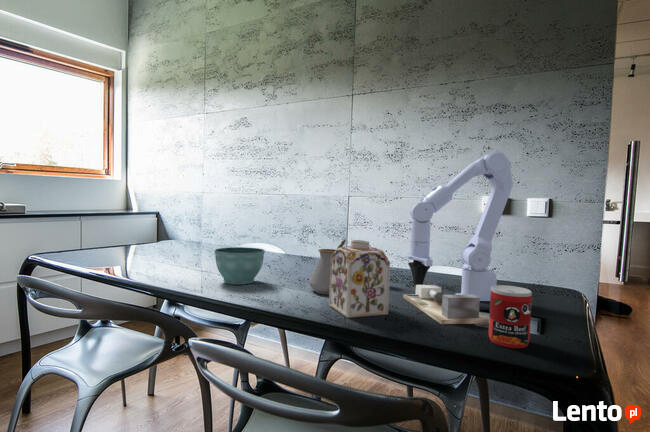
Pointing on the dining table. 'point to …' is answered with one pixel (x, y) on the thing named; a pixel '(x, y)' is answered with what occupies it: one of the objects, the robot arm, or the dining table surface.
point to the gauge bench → (438, 312)
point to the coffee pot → (323, 271)
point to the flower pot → (239, 264)
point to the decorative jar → (359, 280)
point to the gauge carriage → (429, 292)
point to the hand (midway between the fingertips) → (418, 285)
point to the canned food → (510, 316)
